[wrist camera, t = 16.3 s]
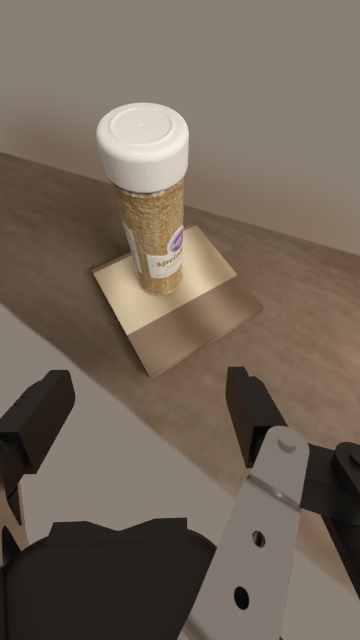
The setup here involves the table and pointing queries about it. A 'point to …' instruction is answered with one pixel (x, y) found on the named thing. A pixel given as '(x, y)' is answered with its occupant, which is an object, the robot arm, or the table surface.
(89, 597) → the robot arm
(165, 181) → the sprinkles bottle
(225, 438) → the table surface
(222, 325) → the board
